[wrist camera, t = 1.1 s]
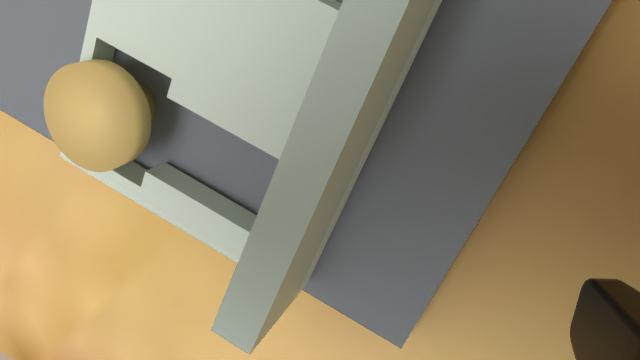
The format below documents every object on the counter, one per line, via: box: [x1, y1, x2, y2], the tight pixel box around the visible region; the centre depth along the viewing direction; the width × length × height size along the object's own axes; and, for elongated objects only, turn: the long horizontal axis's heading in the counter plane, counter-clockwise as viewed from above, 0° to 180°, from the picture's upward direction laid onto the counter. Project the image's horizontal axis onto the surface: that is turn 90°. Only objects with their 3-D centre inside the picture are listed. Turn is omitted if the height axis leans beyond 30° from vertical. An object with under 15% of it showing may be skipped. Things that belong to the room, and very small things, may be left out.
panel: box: [60, 0, 442, 355], centre depth 16 cm, size 9×12×4 cm
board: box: [0, 0, 612, 348], centre depth 17 cm, size 18×13×4 cm
